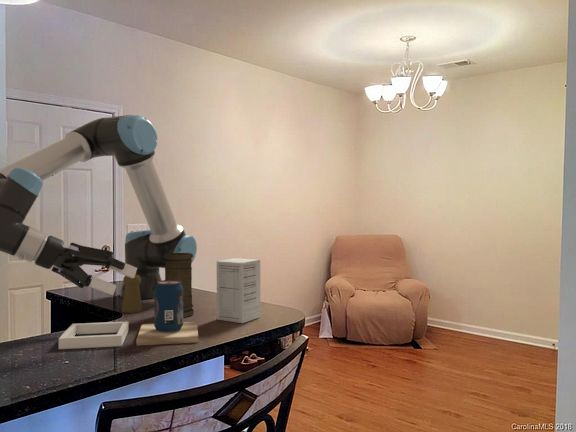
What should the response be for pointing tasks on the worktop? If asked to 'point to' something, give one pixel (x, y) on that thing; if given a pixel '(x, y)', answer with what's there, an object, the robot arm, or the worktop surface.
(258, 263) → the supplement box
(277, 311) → the worktop surface
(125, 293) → the olive brown rounded figure
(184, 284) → the container
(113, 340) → the tray
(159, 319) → the soda can
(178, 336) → the birch board
